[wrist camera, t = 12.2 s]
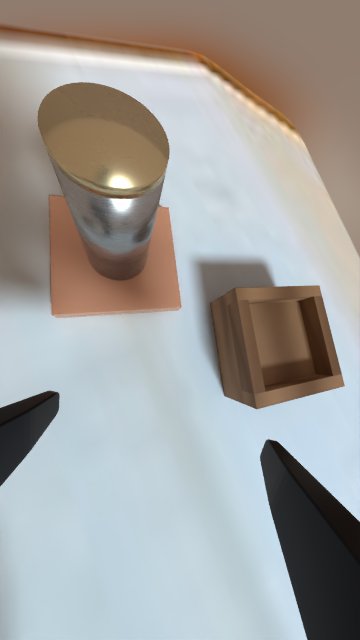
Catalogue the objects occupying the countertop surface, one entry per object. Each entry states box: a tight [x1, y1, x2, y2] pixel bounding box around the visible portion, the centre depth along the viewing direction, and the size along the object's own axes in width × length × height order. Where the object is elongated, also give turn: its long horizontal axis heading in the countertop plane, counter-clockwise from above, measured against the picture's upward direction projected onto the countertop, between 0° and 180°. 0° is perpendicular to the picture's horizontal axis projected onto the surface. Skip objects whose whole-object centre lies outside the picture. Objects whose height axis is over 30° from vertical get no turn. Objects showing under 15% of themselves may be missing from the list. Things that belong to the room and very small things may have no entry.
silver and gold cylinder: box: [38, 82, 169, 281], centre depth 11 cm, size 5×5×9 cm
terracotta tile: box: [49, 195, 181, 318], centre depth 16 cm, size 10×10×1 cm
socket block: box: [210, 286, 345, 409], centre depth 17 cm, size 9×9×4 cm
